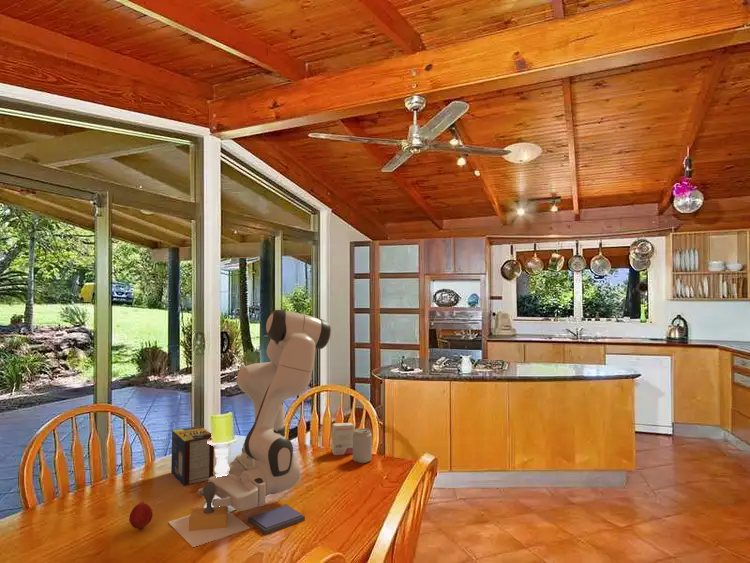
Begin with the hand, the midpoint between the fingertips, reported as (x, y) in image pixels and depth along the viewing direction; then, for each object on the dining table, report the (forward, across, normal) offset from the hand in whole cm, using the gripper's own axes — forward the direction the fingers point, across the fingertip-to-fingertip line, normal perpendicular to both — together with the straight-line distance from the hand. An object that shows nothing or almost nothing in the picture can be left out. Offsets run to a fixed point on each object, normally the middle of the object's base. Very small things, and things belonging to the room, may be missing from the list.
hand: (205, 498), depth 138 cm
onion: (+14, -10, +8) cm, 19 cm away
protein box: (-12, -39, +8) cm, 42 cm away
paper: (-1, 0, +8) cm, 8 cm away
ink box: (-69, -24, +8) cm, 73 cm away
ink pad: (-17, +10, +8) cm, 21 cm away
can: (-69, -12, +8) cm, 70 cm away
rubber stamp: (-1, 0, +8) cm, 8 cm away
